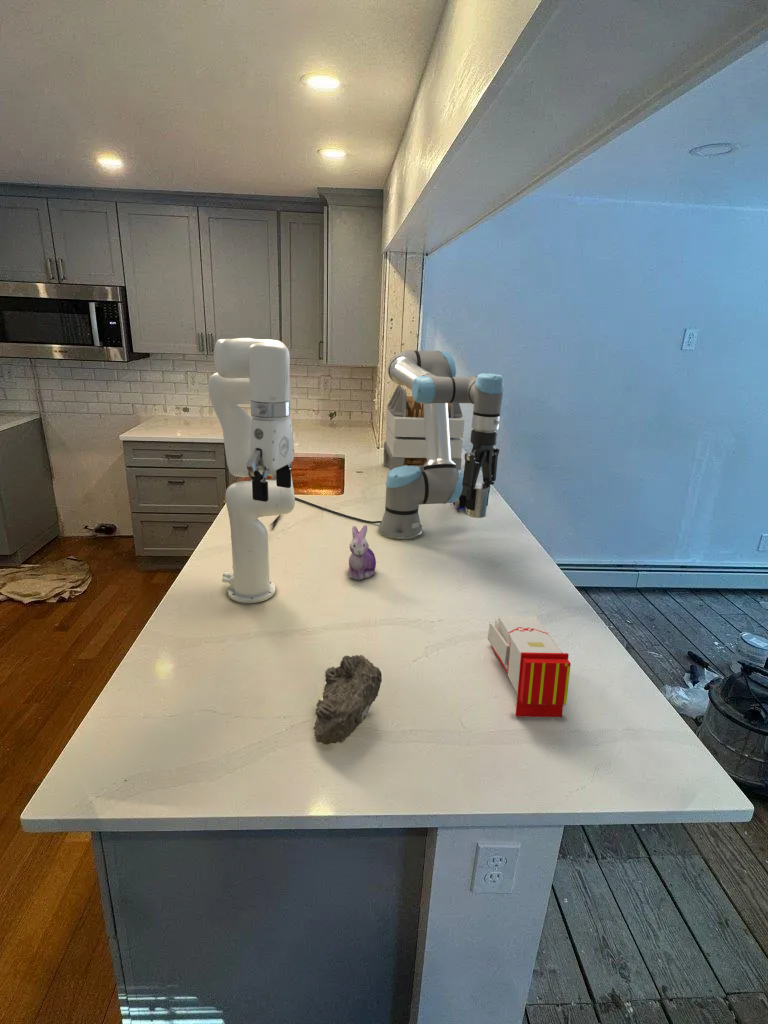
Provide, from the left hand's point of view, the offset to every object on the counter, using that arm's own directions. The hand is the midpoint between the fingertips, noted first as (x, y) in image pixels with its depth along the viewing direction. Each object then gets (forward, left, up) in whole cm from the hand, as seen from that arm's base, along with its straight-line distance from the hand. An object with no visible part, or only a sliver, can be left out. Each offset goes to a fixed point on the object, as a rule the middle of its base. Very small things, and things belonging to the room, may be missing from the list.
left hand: (272, 493), depth 116 cm
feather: (-41, +79, -38) cm, 96 cm away
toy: (+53, +12, -38) cm, 67 cm away
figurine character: (+20, +118, -38) cm, 126 cm away
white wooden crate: (-8, +160, -38) cm, 165 cm away
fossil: (+22, -12, -38) cm, 46 cm away
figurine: (+4, +46, -38) cm, 60 cm away
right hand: (+34, +62, -18) cm, 73 cm away
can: (+34, +62, -20) cm, 74 cm away
